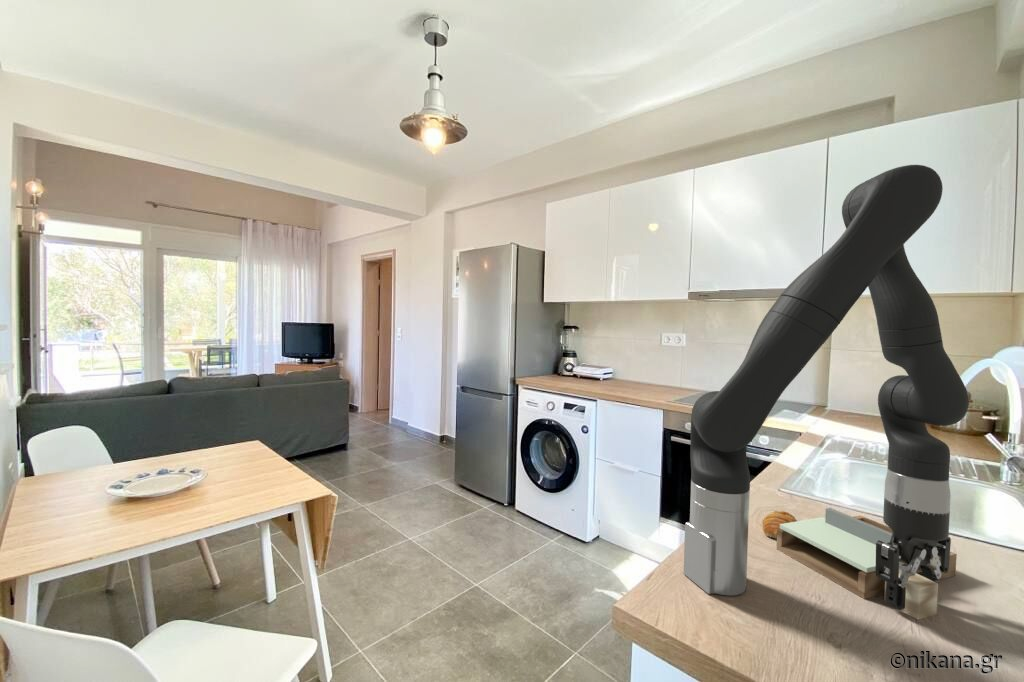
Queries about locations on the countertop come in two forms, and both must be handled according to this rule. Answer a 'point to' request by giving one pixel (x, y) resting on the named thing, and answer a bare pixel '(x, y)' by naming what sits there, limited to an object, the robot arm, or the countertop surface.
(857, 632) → the countertop surface
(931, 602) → the block
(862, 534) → the lid
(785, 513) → the pastry
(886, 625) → the countertop surface
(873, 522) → the wooden box
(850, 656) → the countertop surface
